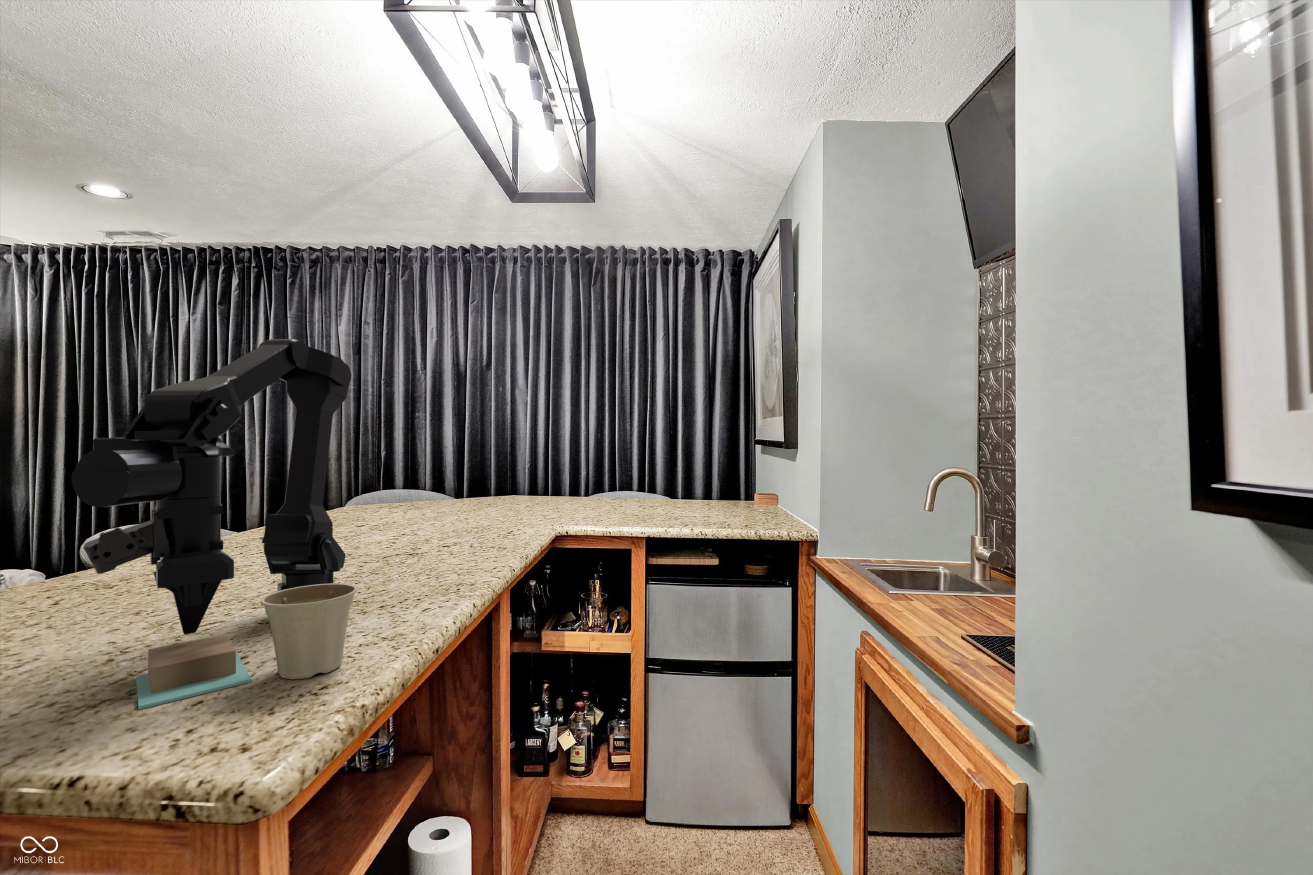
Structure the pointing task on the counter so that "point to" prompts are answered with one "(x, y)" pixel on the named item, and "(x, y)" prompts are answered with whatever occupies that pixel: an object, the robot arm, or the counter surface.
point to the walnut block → (190, 662)
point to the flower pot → (309, 627)
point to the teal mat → (188, 687)
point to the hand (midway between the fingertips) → (189, 632)
